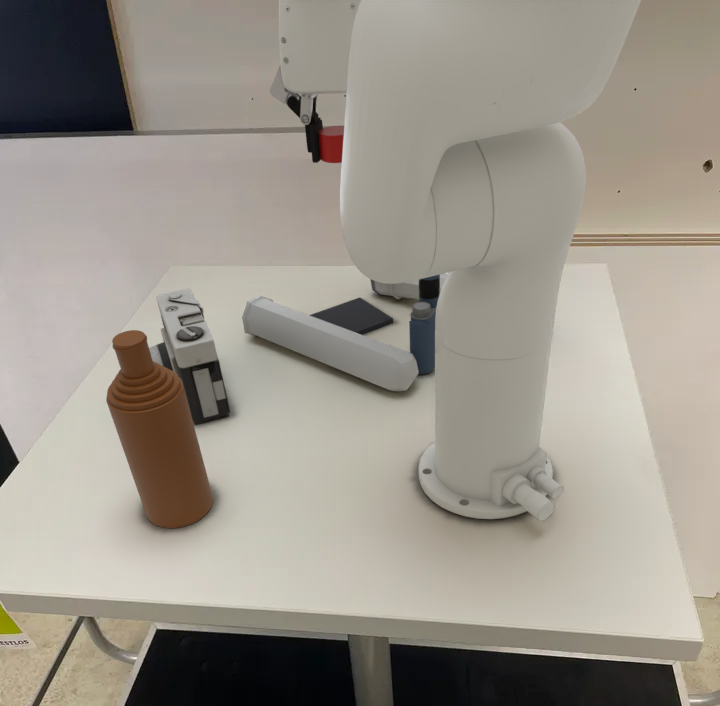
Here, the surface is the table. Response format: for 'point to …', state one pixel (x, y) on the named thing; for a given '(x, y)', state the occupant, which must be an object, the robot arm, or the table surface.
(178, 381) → the bottle
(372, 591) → the table surface
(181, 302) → the camera
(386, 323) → the mat
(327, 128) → the cap
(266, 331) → the tube
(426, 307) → the vaping device
